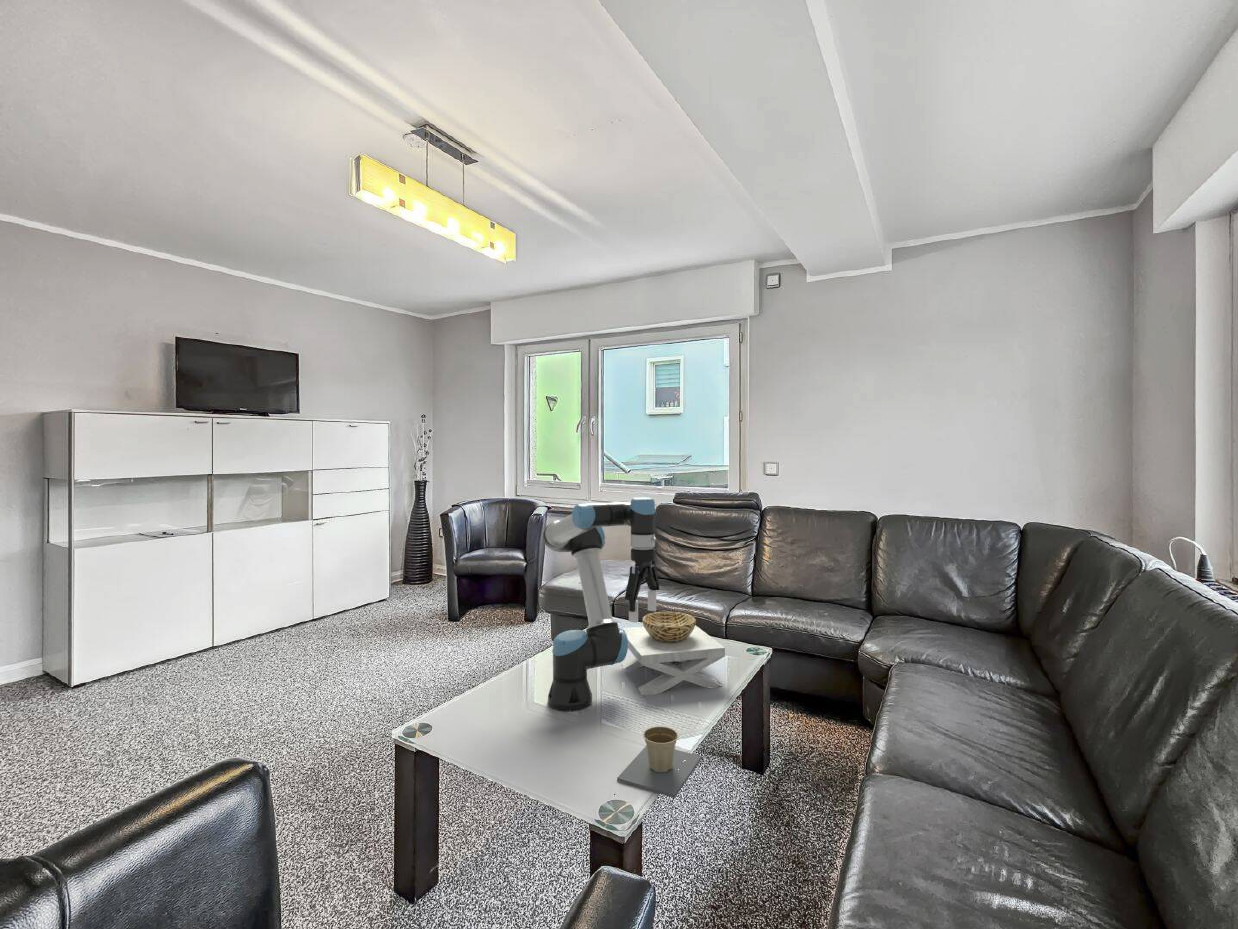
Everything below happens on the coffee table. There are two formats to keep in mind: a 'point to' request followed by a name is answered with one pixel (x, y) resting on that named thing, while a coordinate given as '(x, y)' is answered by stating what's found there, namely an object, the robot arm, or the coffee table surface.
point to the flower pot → (660, 747)
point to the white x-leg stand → (672, 650)
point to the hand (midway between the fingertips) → (643, 616)
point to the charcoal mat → (660, 773)
